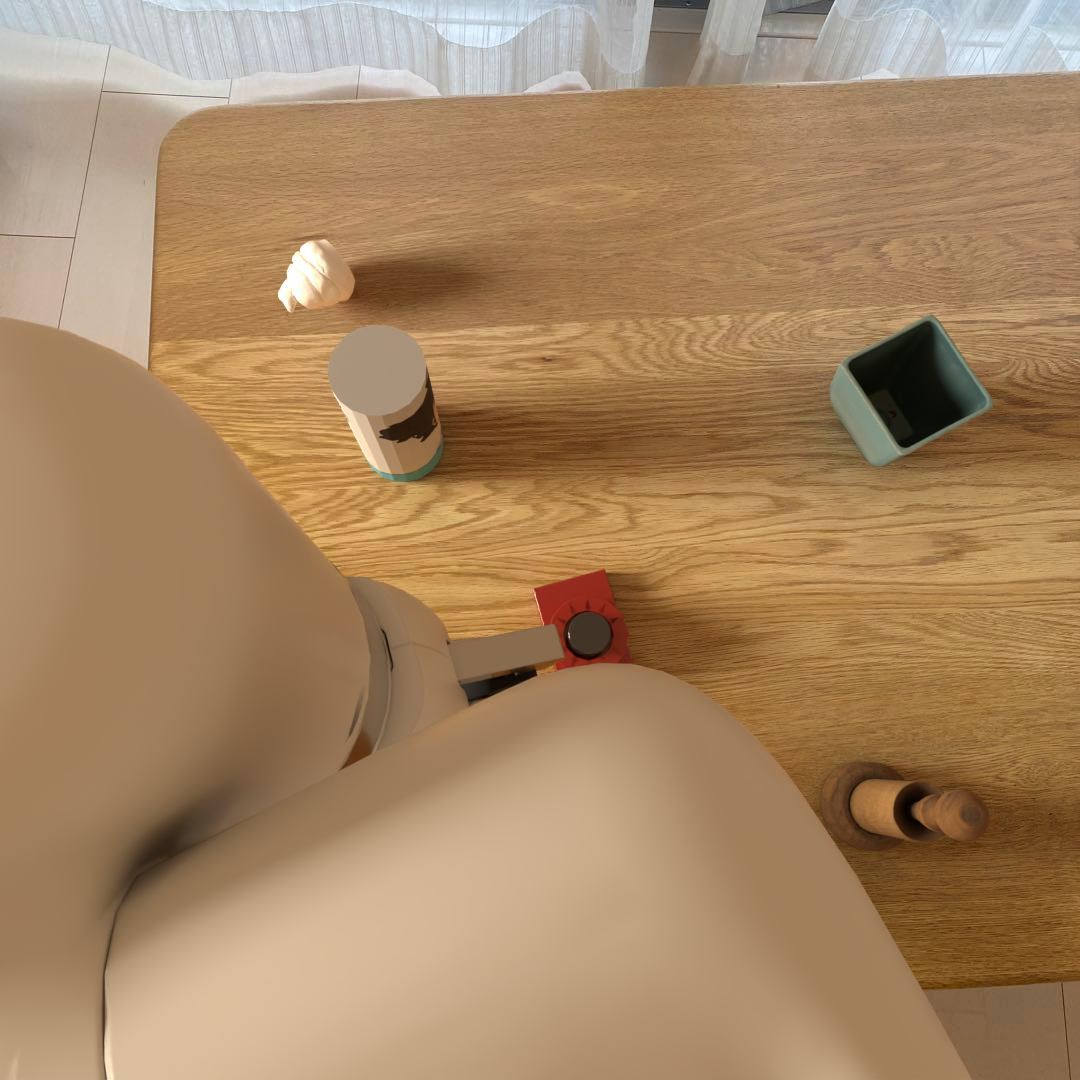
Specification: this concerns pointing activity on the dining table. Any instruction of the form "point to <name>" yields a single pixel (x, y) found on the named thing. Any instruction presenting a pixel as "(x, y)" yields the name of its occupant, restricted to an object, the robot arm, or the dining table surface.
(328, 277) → the garlic bulb
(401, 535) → the dining table surface
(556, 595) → the button block
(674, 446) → the dining table surface
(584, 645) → the button
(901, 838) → the mortar and pestle
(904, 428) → the flower pot
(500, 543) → the dining table surface
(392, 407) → the beige cylindrical canister
